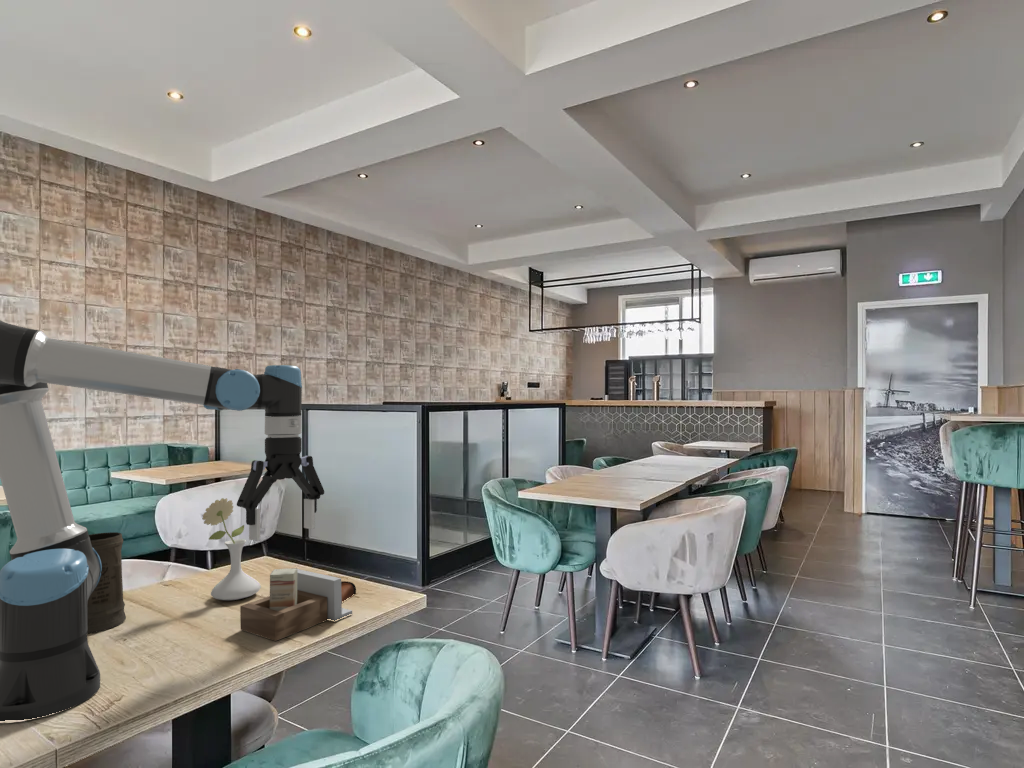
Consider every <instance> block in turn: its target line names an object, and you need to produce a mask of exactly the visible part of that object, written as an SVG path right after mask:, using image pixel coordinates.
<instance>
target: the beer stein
mask: <svg viewBox="0 0 1024 768" xmlns="http://www.w3.org/2000/svg"><path fill="white" fill-rule="evenodd" d="M89 538H90V541H91V545H92V547H93V548H94V550H95V551H96V552H97V554H98V555H99V557H100V560H101V566H102V571H101V576H100V579H99V582H98V584H97V586H96V587H95V589H94V591H93V592H92V594H91V595H90V597H89V599H88V603H87V627H88V630H87V634H93V633H98V632H102V631H106V630H110V629H112V628H114V627H117V626H120V625H121V624H123V623H124V622H125V621H126V618H127V616H126V613H125V606H126V603H125V601H124V589H123V588H124V585H123V583H124V582H123V565H122V564H123V563H122V561H123V560H122V548H123V543H124V538H123V533H121V532H116V531H115V532H114V531H113V532H111V531H110V532H99V533H91V534H89Z"/></svg>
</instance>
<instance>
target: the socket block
mask: <svg viewBox="0 0 1024 768" xmlns="http://www.w3.org/2000/svg"><path fill="white" fill-rule="evenodd" d="M239 607H240V608H239V611H240V612H239V613H240V616H239V617H240V619H239V620H240V621H239V622H240V630H241V631H243V632H247V633H250V634H252V635H256V636H258V637H261V638H265V639H267V640H271V641H274V642H276V641H279V640H281V639H284V638H286V637H289V636H291V635H294V634H296V633H299V632H302V631H304V630H306V629H309V628H311V627H314V626H316V625H318V623H319V624H321V623H324V622H326V621H328V620H327V597H324V596H320V595H316V594H312V593H308V592H304V591H300V590H297V604H296V605H294V606H291V607H288V608H285V609H282V610H280V611H275V610H272V609H270V595H269V596H267V597H263V598H260V599H257V600H255V601H251V602H248V603H245V604H243V605H242V604H241V605H240V606H239ZM325 620H326V621H325ZM323 621H324V622H323Z"/></svg>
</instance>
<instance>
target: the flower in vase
mask: <svg viewBox="0 0 1024 768" xmlns="http://www.w3.org/2000/svg"><path fill="white" fill-rule="evenodd" d="M233 512H234V503H233V500H232V499H231V500H230V499H229V500H228V498H224V497H222V498H221V499H220V500H219V499H216V500H215V501H214V502H211V504H210V505H209V506H208V507H207V508H205V512H203V514H202V520H203V524H205V525H207V526H208V525H210V526H217V525H218V524H222V523H223V527H224V531H223V530H217V531H215V532H214V533H212V534H211V535H210V537H209V538H208V540H212V541H213V540H215V541H216V540H221V539H222V538H223V537H224V536H225V535H227V536H228V537H229V539H230V540H226V541H225V542H224V545H225V546H226V547H227V549H228V552H229V555H230V557H229V558H230V569H229V572H228V574H227V575H226V576H224V578H223V579H221V580H220V581H219V582H218V583H217V584H216V585H215V586H214V587H212V590H211V591H210V595H211V596H210V597H212V598H213V599H216V600H218V601H219V600H220V601H235V600H236V601H237V600H241V599H244V598H248V597H251V596H253V595H255V594H257V593H258V592H259V591H260V589H261V588H262V586H261V583H260V582H259V581H258V580H257V579H255V578H254V577H252V576H251V575H249V574H247V573H246V572H245V571H243V569H242V564H241V563H242V561H241V560H242V552H243V548H244V545H245V544H246V543H247V539H244V538H241V539H240V538H237V539H233V538H236V537H237V536H240V535H242V533H244V530H245V524H243V525H241V526H240V527H238V528H235V529H233V531H232V532H231V534H230V533H229V532H228V530H227V526H226V522H225V521H227V520H228V519H229V516H230V517H231V514H232V513H233Z"/></svg>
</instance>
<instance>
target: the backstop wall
mask: <svg viewBox="0 0 1024 768" xmlns="http://www.w3.org/2000/svg"><path fill="white" fill-rule="evenodd" d="M341 581H342V578H341V577H337V576H332V575H327V574H322V573H318V572H313V571H308V570H304V569H299V568H297V590H300V591H304V592H308V593H312V594H316V595H320V596H324V597H327V619H331V620H334V621H335V620H337V619H340V618H342V617H344V616H347V615H349V614H352V615H353V610H352V609H348V608H344V607H342V606H343V605H342V604H343V603H342V597H341Z"/></svg>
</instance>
